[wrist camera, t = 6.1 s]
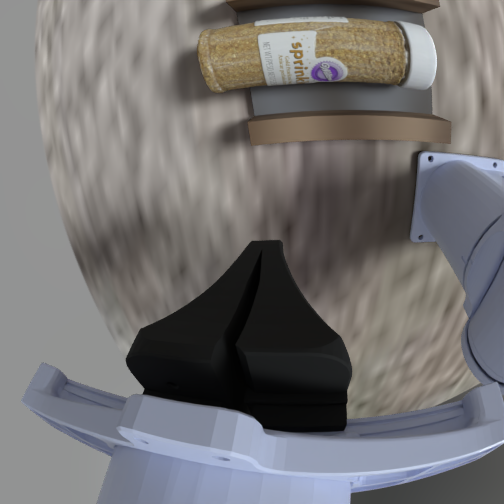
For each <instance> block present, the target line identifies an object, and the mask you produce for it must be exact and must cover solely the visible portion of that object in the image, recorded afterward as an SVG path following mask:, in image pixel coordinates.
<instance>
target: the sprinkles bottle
mask: <svg viewBox="0 0 504 504" xmlns="http://www.w3.org/2000/svg"><path fill="white" fill-rule="evenodd" d="M197 55H198V60H199V63H200V69H201V72H202V75H203V77H204V80H205V81H206V84H207V85H208V87H209V88H210V90H211V91H213V92H215V93H223V92H225V91H227V90H232V89H238V88H246V87H254V86H264V85H268V86H275V85H288V84H303V83H316V82H366V83H385V84H391V85H397V86H398V87H400V88H407V89H416V90H425V89H427V88H429V87H430V86H431V84H432V83H433V80H434V78H435V74H436V68H437V56H436V50H435V46H434V42H433V40H432V38H431V36H430V34H429V33H428V31H427V30H426V29H425V28H424V27H422V26H420V25H416V24H412V23H407V22H402V21H387V22H383V21H375V20H366V19H354V18H345V17H327V16H325V17H294V18H280V19H270V20H261V21H256V22H253V23H248V24H242V25H235V26H229V27H224V28H220V29H207V30H204V31H203V32H202V33H201V34H200V36H199V40H198V46H197Z"/></svg>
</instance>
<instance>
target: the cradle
mask: <svg viewBox="0 0 504 504" xmlns="http://www.w3.org/2000/svg"><path fill="white" fill-rule="evenodd" d="M226 2H227V3H228V4H229V5H230V6H231V7H232V8H233V9H234V10H235V11H236V12H237V17H238V22H239V25H242V24H248V23H253V22H256V21H261V20H270V19H280V18H294V17H325V16H327V17H345V18H354V19H366V20H375V21H383V22H387V21H402V22H407V23H412V24H416V25H420V26H422V27H424V28H425V26H424V21H423V16H422V13H425V12H427V11H430V10H432V9H435V8H438V7H440V4H439V0H226ZM250 91H251V97H252V103H253V109H254V117H253V118H252V119H250V120H249V121H248V122H247V123H248V129H249V135H250V141H251V146H253V145H262V144H273V143H285V142H299V141H317V140H357V139H366V140H405V141H422V142H435V143H446V144H450V143H451V122H450V121H448V120H445V119H443V118H440V117H438V116H435V115H432V90H431V86H430V87H429V88H427V89H425V90H416V89H407V88H400V87H398V86H397V85H391V84H385V83H366V82H316V83H303V84H288V85H275V86H268V85H264V86H254V87H250Z"/></svg>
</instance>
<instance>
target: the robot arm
mask: <svg viewBox="0 0 504 504" xmlns="http://www.w3.org/2000/svg"><path fill="white" fill-rule="evenodd" d="M429 156H432V158H431V160H429V161H428V157H429ZM494 162H495V164H494V166H493V163H494ZM420 235H422V236H421V237H420V238H418V237H419V236H420ZM410 239H411V241H412V242H437V244H438V245H439V247H440V248H441V250H442V252H443V253H444V255H445V257H446V258H447V260H448V262H449V263H450V265H451V267H452V269H453V270H454V272H455V274H456V276H457V277H458V279H459V281H460V283H461V285H462V287H463V289H464V290H465V292H466V299H465V302H464V304H463V307H464V309H465V311H466V313H467V315H468V318H469V320H468V321H467V323H466V324H465V326H464V328H463V331H462V336H461V346H462V351H463V355H464V358H465V361H466V363H467V365H468V367H469V369H470V370H471V372H472V373H473V375H474V376H475V377H476V378H477V379H478V380H479V381H480V382H481V383H482V384H483V386H480V387H477V388H475V389H473V390H471V391H470V392H469V393H467V394H466V395H465V397H464V398H463V399H462V400H460V401H457V402H453V403H449V404H445V405H441V406H436V407H431V408H427V409H422V410H416V411H411V412H405V413H399V414H392V415H384V416H376V417H367V418H356V419H347V410H346V404H347V400H348V399H347V389H348V386H349V383H350V380H351V377H352V366H351V362H350V358H349V355H348V352H347V349H346V347H345V345H344V342H343V340H342V338H341V337H340V336H339V335H338V334H337V333H336V332H335V331H334V330H333V329H331V328H330V327H329V326H328V325H327V324H326V323H325V322H324V321H323V320H322V318H321V317H320V316H319V315H318V314H317V313H316V312H315V310H314V309H313V308H312V307H311V305H310V304H309V303H308V302H307V300H306V299H305V297H304V296H303V294H302V293H301V291H300V290H299V288H298V286H297V285H296V283H295V281H294V279H293V277H292V275H291V273H290V271H289V268H288V266H287V263H286V260H285V257H284V254H283V243H282V242H281V241H280V240H266V241H251V242H250V243H249V245H248V246H247V247H246V248H245V250H244V251H243V252H242V253H241V255H240V256H239V257H238V258H237V260H236V261H235V262H234V263H233V264H232V265H231V267H230V268H229V269H228V270H227V271H226V272H225V273H224V274H223V275H222V276H221V277H220V278H219V279H218V280H217V281H216V282H215V283H214V284H213V285H212V286H211V287H210V288H209V289H207V290H206V291H205V292H204V293H202V294H201V295H200V296H199V297H197V298H196V299H194V300H193V301H191V302H190V303H189V304H187V305H186V306H184V307H183V308H181V309H179V310H178V311H176V312H174V313H173V314H171V315H169V316H167V317H165V318H163V319H161V320H159V321H157V322H155V323H153V324H151V325H148V326H146V327H144V328H141V329H140V331H139V333H138V334H137V336H136V338H135V340H134V342H133V344H132V346H131V349H130V351H129V353H128V355H127V358H126V364H127V366H128V368H129V370H130V371H131V373H132V374H133V375H134V376H135V378H136V379H137V380H138V381H139V382H140V384H141V385H142V386H143V387H144V388H145V389H144V392H143V394H133V395H131V396H130V397H128V398H125V397H122V396H118V395H115V394H111V393H108V392H105V391H102V390H98V389H95V388H92V387H89V386H86V385H83V384H81V383H78V382H75V381H72V380H70V379H67V377H66V376H65V375H64V374H63V372H61V371H60V370H59V369H58V368H56V367H53V366H51V365H48V364H46V363H41V365H40V366H39V368H38V370H37V372H36V373H35V375H34V377H33V379H32V381H31V382H30V384H29V386H28V388H27V390H26V392H25V394H24V396H23V398H22V400H21V401H22V403H23V404H24V405H25V406H26V407H28V408H29V409H30V410H31V411H33V412H34V413H35V414H36V415H38V416H39V417H40V418H42V419H43V420H44V421H46V422H47V423H48V424H50V425H51V426H53V427H54V428H56V429H58V430H59V431H61V432H63V433H65V434H67V435H69V436H70V437H72V438H74V439H76V440H78V441H80V442H82V443H84V444H86V445H88V446H90V447H92V448H94V449H96V450H98V451H100V452H102V453H105V454H107V455H109V456H111V457H112V458H111V461H110V464H109V467H108V470H107V473H106V476H105V479H104V482H103V485H102V488H101V491H100V494H99V497H98V501H97V504H350V493H352V492H360V491H367V490H373V489H378V488H383V487H389V486H394V485H398V484H402V483H407V482H410V481H414V480H418V479H422V478H425V477H429V476H432V475H435V474H438V473H441V472H445V471H447V470H451V469H453V468H456V467H459V466H462V465H465V464H467V463H470V462H472V461H475V460H477V459H479V458H481V457H482V456H484V455H486V454H487V453H489V452H491V451H492V450H494V449H496V448H497V447H499V446H500V445H502V444H503V443H504V402H503V398H502V395H504V161H503V160H501V159H495V158H488V157H481V156H473V155H464V154H454V153H443V152H430V151H422V152H420V153H419V155H418V168H417V181H416V192H415V201H414V210H413V217H412V224H411V231H410ZM501 394H502V395H501Z"/></svg>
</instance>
